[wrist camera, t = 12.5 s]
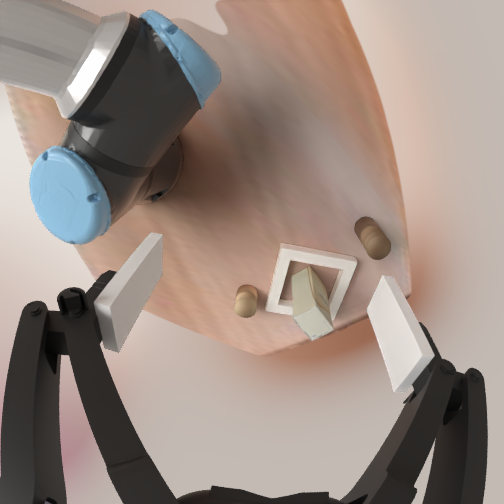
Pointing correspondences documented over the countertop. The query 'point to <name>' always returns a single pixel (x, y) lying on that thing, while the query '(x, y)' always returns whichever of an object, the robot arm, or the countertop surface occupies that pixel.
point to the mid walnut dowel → (372, 238)
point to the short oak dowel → (246, 301)
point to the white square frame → (311, 257)
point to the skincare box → (310, 304)
